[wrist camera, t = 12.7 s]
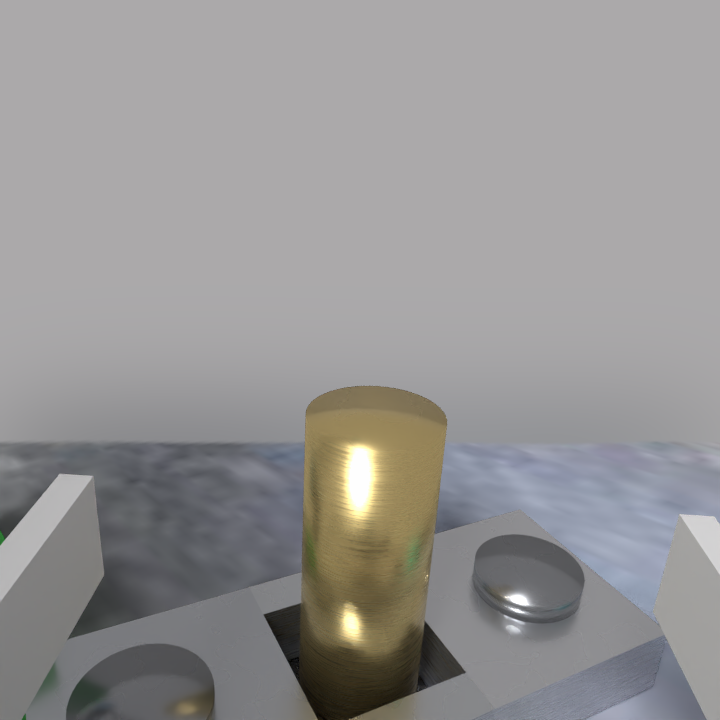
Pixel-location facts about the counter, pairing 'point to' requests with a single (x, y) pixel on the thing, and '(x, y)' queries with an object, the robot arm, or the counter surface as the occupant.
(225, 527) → the counter surface
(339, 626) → the link pin
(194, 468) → the counter surface
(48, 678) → the plate with dome knobs
